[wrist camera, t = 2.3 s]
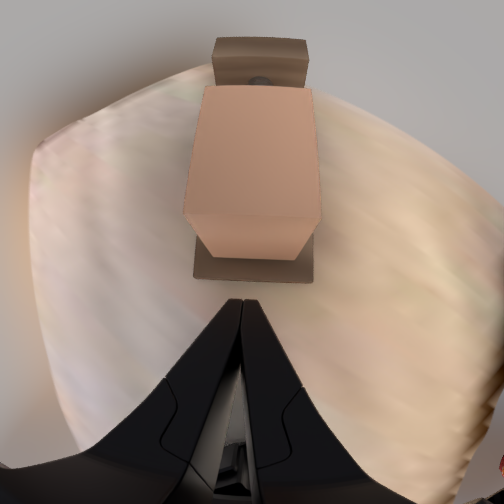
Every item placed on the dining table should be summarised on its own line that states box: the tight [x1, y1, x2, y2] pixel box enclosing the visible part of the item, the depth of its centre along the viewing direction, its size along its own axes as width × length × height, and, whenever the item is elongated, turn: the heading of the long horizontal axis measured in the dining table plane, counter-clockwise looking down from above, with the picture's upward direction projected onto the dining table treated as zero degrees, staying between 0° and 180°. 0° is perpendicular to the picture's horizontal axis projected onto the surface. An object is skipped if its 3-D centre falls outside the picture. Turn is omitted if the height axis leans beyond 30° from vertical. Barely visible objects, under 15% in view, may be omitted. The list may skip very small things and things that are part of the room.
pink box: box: [183, 85, 322, 260], centre depth 17 cm, size 8×6×9 cm
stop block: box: [193, 37, 313, 283], centre depth 19 cm, size 18×9×9 cm, turn 177°
